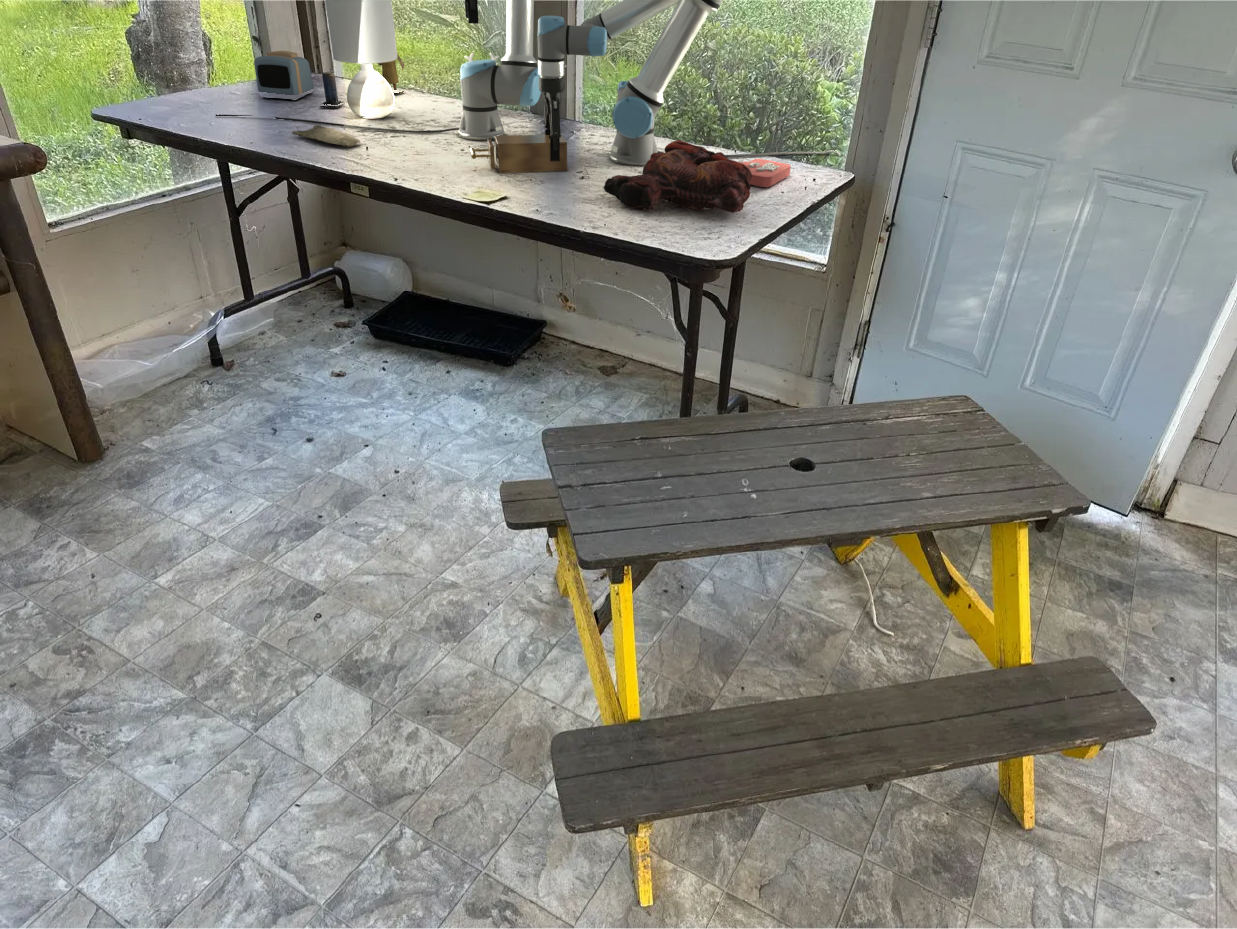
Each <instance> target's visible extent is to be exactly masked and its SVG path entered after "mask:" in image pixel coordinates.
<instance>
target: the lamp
mask: <svg viewBox="0 0 1237 929" xmlns="http://www.w3.org/2000/svg"><path fill="white" fill-rule="evenodd" d="M324 3H325V9H326V18H327V23H328V30H329V37H330V45H331V51H332V58H333V60H334V61H336V62H341V63H348V64H360V70H358V71H357V72H356V74H354V76H353V77H352V79H351V80H350V82H349V84H348V87H347V92H346V101H347V104H348V107H349V109H350V110H351V112H352V113H354V115H356V116H358V117H360V118H362V119H368V120H369V119H370V120H371V119H372V120H375V119H382V118H385V117H387V116H389V115H390V114H391V113H392V111H393V110H394V107H395V103H396V102H395V95H394V94H393V91H392V90H393V89H392V87H391V84H390V85H389V84H388V82H387V81H386V80H385V79H384V78H383V77H382V74H380V73H379V72H378V71H376V70H375V68H374V67H373V64H378V63H383V62H390V61H394V60H398V59H397V53H398V50H397V40H396V31H395V21H394V13H393V2H392V0H324ZM361 116H365V117H361Z"/></svg>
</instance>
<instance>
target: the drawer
mask: <svg viewBox="0 0 1237 929" xmlns="http://www.w3.org/2000/svg"><path fill="white" fill-rule="evenodd" d="M496 148H497V162H498V165H499V160H498V145H497V142H496ZM478 152H487V154H477V153H478ZM469 153H470V156H471V157H470V158H471V159H473V160H476V159H477V158H488V164H489V167H490V170H496V154H495V144H494V143H493V140H491V139H489V140H487V148H474V147H470V148H469Z"/></svg>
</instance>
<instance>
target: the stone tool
mask: <svg viewBox="0 0 1237 929" xmlns="http://www.w3.org/2000/svg"><path fill="white" fill-rule="evenodd" d="M291 134H292V135H294V136H297V135H298V136H297V137H299V138H301V137H302V138H306V139H311V140H316V141H318V142H321V143H325V144H333V145H339V146H343V147H353V146H355V145H357V144H359V143H361V141H360V139H358V138H356V137H355V136H353V135H351V134H348V133H345V132H343V131H339V130H337V129H334V128H333V127H326V126H322V125H321V124H315V125H313V126H312V128H310V129H309V128H308V129H306V130H297V131H295V130H292V132H291Z"/></svg>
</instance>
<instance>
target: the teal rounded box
mask: <svg viewBox="0 0 1237 929" xmlns="http://www.w3.org/2000/svg"><path fill="white" fill-rule="evenodd" d="M253 65H254V72H255V77H256V78H255V79H256V86H257V92H258V91H259V92H267V93H276V94H285V95H299V94H302V93H304V92H307V91H309V90H311V89H314V90H315V85H314V81H313V76H312V72H311V67H310V62H309V60H307V59H306V58H305V57H302V56H299V55H298V53H296V52H293V51H289V50H275V51H269V52H266V55H261V56H257V57H256V58H254V60H253Z"/></svg>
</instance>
